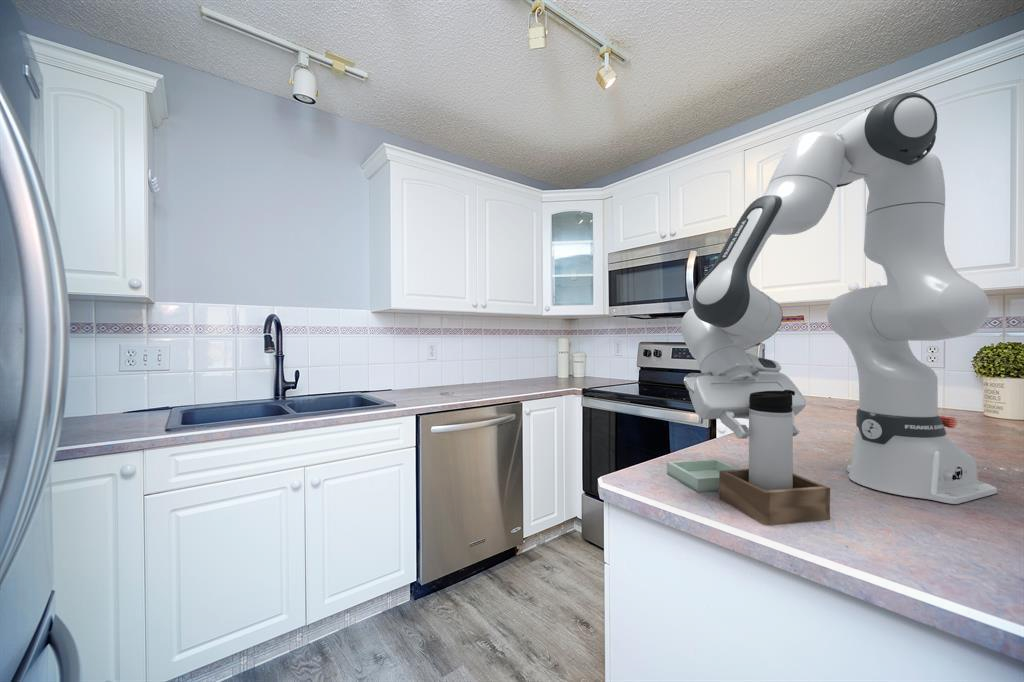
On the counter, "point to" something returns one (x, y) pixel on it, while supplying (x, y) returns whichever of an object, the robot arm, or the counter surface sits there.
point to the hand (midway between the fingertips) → (769, 435)
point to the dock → (698, 473)
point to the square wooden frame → (775, 499)
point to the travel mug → (771, 440)
